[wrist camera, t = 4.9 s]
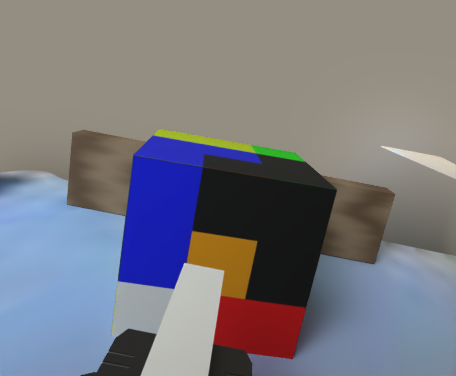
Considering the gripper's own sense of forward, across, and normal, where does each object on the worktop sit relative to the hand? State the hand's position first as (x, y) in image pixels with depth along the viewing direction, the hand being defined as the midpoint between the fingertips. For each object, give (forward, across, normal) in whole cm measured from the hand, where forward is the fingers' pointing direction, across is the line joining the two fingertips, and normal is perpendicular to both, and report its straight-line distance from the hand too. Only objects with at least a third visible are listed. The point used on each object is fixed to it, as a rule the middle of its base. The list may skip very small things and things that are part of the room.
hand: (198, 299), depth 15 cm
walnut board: (+23, 0, -6) cm, 24 cm away
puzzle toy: (+10, 0, -6) cm, 12 cm away
